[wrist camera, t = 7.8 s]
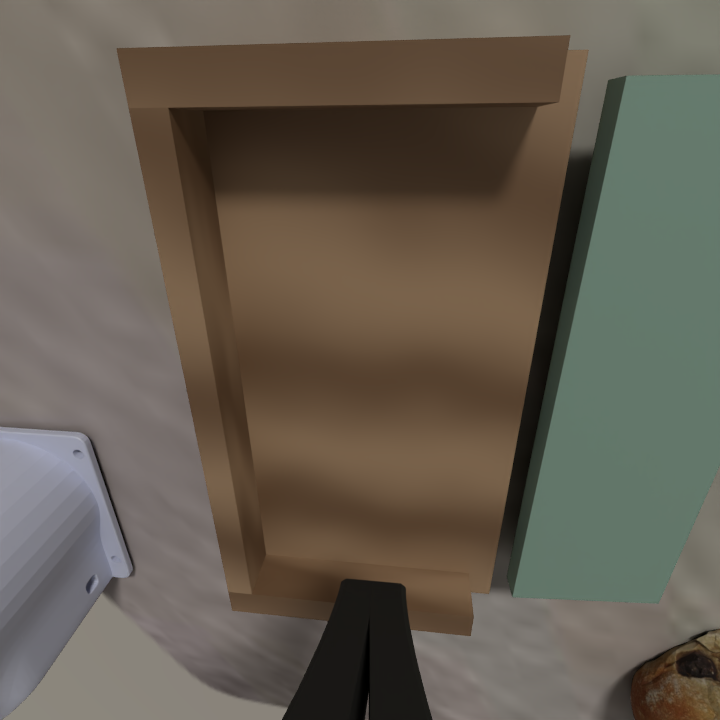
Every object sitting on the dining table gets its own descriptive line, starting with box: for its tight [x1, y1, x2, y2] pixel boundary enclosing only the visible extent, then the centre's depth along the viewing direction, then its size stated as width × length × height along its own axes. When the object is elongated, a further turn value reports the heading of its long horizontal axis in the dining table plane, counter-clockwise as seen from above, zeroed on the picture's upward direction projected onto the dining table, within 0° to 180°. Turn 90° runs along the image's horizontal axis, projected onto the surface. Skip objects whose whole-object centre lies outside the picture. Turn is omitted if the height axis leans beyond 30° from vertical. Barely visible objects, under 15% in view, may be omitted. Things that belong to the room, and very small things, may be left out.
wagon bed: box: [117, 35, 589, 636], centre depth 16 cm, size 20×11×4 cm, turn 0°
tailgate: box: [507, 75, 720, 603], centre depth 16 cm, size 19×2×6 cm
